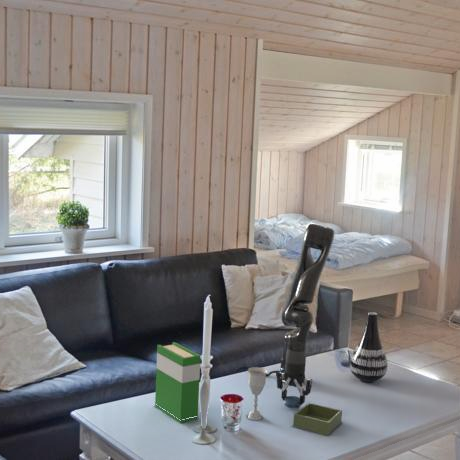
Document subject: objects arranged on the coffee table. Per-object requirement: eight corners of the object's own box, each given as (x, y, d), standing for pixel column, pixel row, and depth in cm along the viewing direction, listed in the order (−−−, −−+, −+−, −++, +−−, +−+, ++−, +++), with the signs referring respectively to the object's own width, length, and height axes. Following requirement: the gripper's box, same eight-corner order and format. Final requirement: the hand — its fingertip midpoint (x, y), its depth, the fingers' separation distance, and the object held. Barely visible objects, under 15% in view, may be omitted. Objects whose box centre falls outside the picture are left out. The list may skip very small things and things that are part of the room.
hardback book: (155, 406, 293) (157, 344, 289) (171, 402, 297) (174, 342, 293) (180, 423, 279) (183, 358, 275) (197, 419, 283) (200, 355, 279)
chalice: (267, 415, 290) (269, 369, 287) (261, 422, 283) (264, 375, 280) (248, 412, 292) (251, 366, 289) (242, 418, 286) (244, 371, 283)
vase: (389, 388, 325) (395, 319, 320) (350, 385, 325) (356, 317, 321) (383, 375, 341) (388, 309, 336) (346, 372, 341) (351, 307, 336)
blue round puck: (281, 405, 295) (281, 399, 295) (288, 400, 301) (289, 394, 301) (296, 409, 292) (297, 403, 292) (303, 404, 298) (304, 398, 298)
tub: (293, 426, 281) (293, 414, 280) (307, 414, 293) (308, 402, 292) (327, 435, 275) (328, 422, 274) (341, 422, 287) (342, 410, 286)
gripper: (317, 361, 294) (314, 403, 297) (282, 353, 300) (280, 394, 303) (309, 366, 287) (306, 409, 290) (274, 358, 294) (271, 400, 297)
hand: (292, 401), depth 297 cm, fingers closed on blue round puck, 6 cm apart
